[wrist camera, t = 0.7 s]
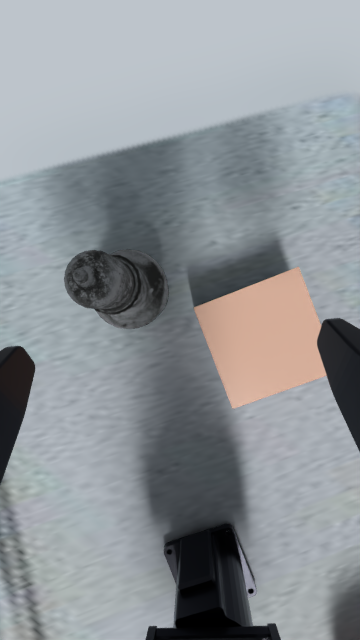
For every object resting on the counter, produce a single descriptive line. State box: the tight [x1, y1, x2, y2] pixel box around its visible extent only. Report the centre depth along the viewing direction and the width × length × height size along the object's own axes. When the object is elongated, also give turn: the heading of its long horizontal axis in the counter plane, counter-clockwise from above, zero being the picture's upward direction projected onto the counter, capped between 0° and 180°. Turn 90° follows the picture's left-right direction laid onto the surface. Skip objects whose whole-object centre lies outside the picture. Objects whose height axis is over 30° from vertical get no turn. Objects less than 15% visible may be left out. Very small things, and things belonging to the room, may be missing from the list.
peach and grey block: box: [194, 267, 327, 409], centre depth 21 cm, size 8×8×4 cm
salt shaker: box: [64, 249, 169, 329], centre depth 17 cm, size 6×6×12 cm
